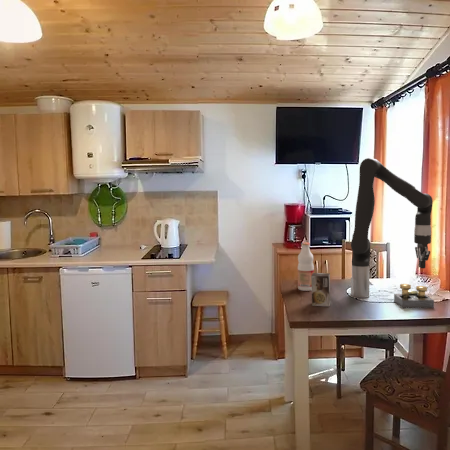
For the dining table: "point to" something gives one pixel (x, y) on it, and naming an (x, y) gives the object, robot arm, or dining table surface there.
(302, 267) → the fruit juice
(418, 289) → the brass knob
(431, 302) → the level base plate
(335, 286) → the dining table surface
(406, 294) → the brass knob
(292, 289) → the dining table surface
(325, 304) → the coffee box
